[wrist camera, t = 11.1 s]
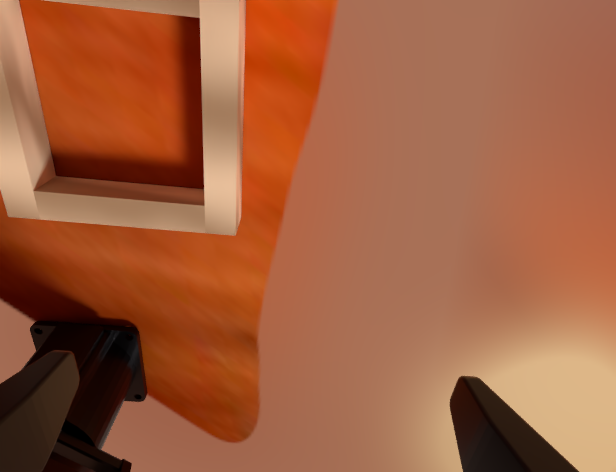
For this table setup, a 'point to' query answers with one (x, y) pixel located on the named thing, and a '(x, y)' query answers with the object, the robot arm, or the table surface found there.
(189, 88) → the table surface
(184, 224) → the holder
